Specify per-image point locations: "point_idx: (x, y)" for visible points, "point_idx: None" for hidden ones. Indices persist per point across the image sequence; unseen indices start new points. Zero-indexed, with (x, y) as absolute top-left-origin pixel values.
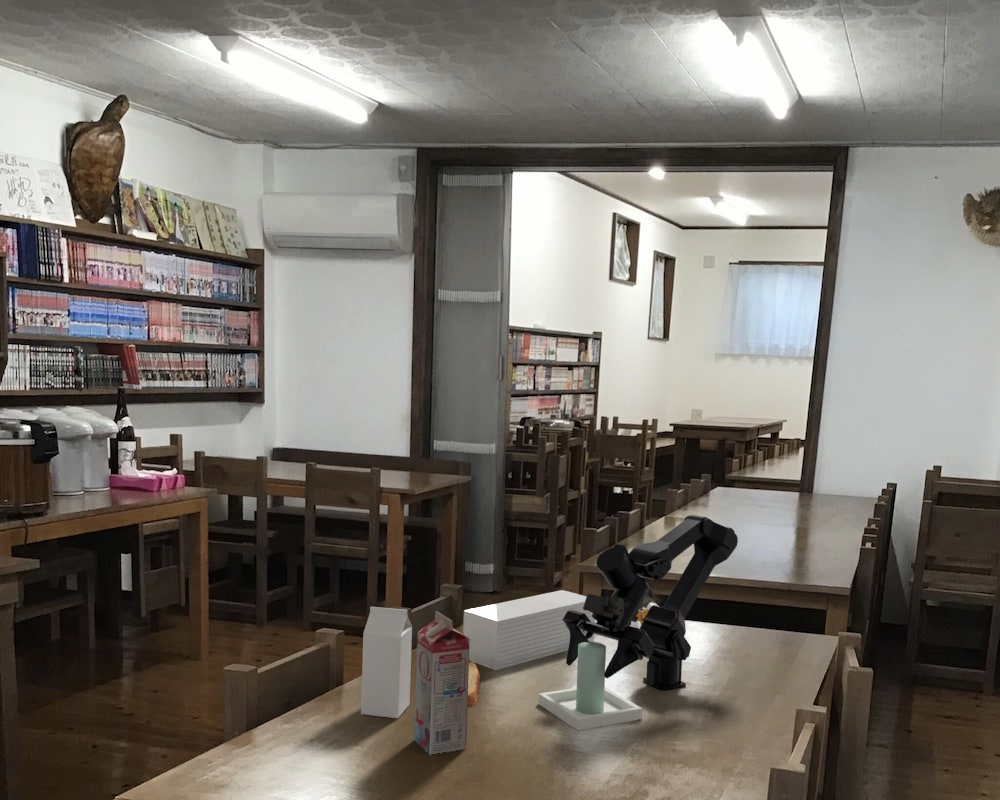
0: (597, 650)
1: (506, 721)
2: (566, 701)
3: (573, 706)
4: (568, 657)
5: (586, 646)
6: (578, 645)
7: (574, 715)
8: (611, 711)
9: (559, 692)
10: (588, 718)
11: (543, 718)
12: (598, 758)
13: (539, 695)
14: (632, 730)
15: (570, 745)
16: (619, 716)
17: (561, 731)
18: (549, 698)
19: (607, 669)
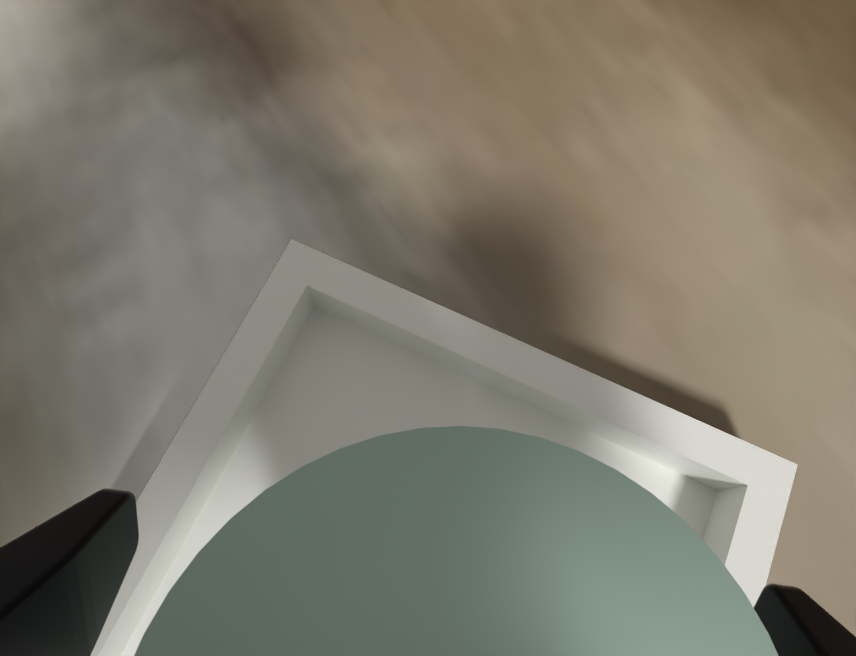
0: (191, 563)
1: (679, 129)
2: None
3: None
4: (825, 633)
5: (543, 637)
6: (719, 569)
7: (348, 280)
8: (164, 533)
9: None
10: (252, 311)
11: (566, 292)
12: (40, 52)
13: (780, 461)
14: (5, 510)
15: (234, 90)
16: None
17: (372, 204)
18: (674, 432)
19: (60, 533)
